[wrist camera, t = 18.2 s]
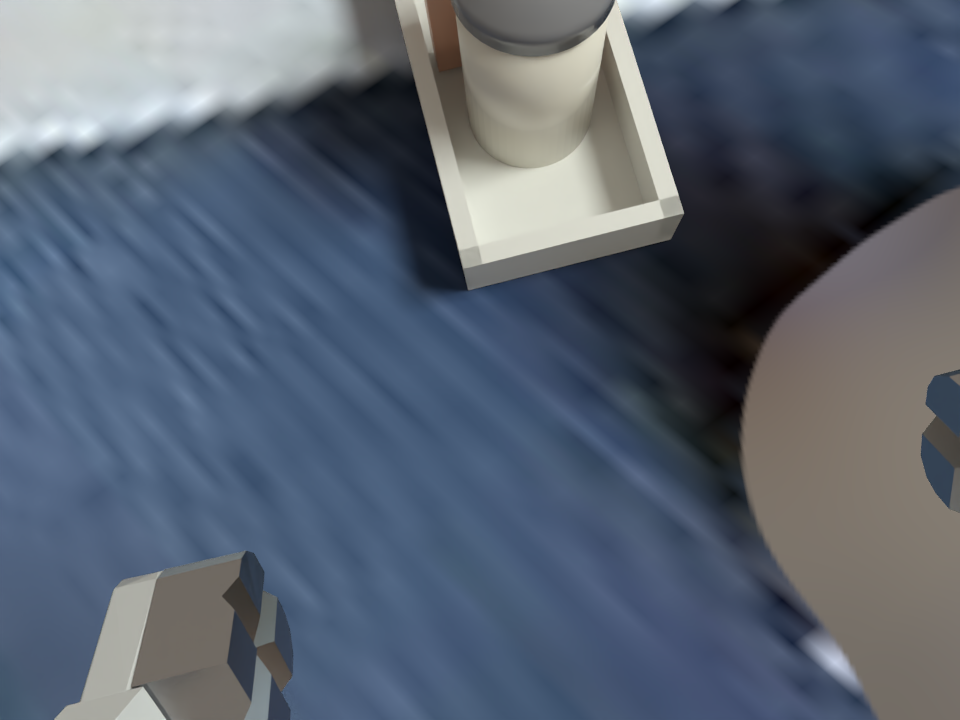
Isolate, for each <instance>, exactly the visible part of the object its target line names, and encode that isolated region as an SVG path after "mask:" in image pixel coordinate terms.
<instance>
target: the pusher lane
mask: <svg viewBox="0 0 960 720" xmlns="http://www.w3.org/2000/svg"><path fill="white" fill-rule="evenodd" d="M394 2H395V6H396V10H397V14H398V17H399V21H400V25H401V29H402V33H403V37H404V41H405V45H406V49H407V53H408V57H409V61H410V64H411V68H412V72H413V76H414V80H415V84H416V88H417V92H418V96H419V100H420V104H421V108H422V111H423V115H424V119H425V123H426V127H427V131H428V135H429V139H430V143H431V147H432V151H433V155H434V158H435V162H436V166H437V170H438V174H439V178H440V182H441V186H442V190H443V194H444V198H445V202H446V205H447V209H448V213H449V217H450V221H451V225H452V229H453V233H454V237H455V241H456V245H457V249H458V252H459V256H460V260H461V264H462V268H463V272H464V276H465V280H466V284H467V288H468V290H472V289H476V288H480V287H484V286H488V285H492V284H496V283H500V282H504V281H508V280H512V279H516V278H520V277H524V276H528V275H532V274H535V273H539V272H543V271H547V270H551V269H555V268H559V267H563V266H567V265H571V264H575V263H579V262H583V261H587V260H591V259H595V258H599V257H603V256H607V255H611V254H615V253H619V252H623V251H627V250H630V249H634V248H638V247H642V246H646V245H650V244H654V243H658V242H662V241H666V240H670V239H671V237H672V236H673V234H674V232H675V230H676V228H677V226H678V224H679V222H680V220H681V218H682V216H683V214H684V211H683V208H682V205H681V202H680V199H679V196H678V193H677V189H676V186H675V183H674V180H673V177H672V174H671V170H670V167H669V164H668V161H667V158H666V155H665V152H664V148H663V145H662V142H661V139H660V136H659V133H658V129H657V126H656V123H655V120H654V117H653V114H652V111H651V107H650V104H649V101H648V98H647V95H646V92H645V88H644V85H643V82H642V79H641V76H640V73H639V70H638V66H637V63H636V60H635V57H634V54H633V51H632V47H631V44H630V41H629V38H628V35H627V32H626V29H625V25H624V22H623V19H622V16H621V13H620V10H619V6H618V3H617V0H615V3H614V6H613V8H612V10H611V12H610V14H609V18H608V23H607V29H606V35H605V41H604V46H603V52H602V58H601V64H600V69H599V75H598V81H597V87H596V92H595V98H594V104H593V110H592V116H591V121H590V125H589V128H588V131H587V133H586V135H585V137H584V139H583V140H582V142H581V144H580V145H579V146H578V147H577V148H576V149H575V150H574V151H573V152H572V153H571V154H570V155H568V156H567V157H565V158H564V159H562V160H560V161H558V162H556V163H554V164H551V165H549V166H545V167H540V168H519V167H514V166H510V165H507V164H504V163H502V162H500V161H498V160H496V159H495V158H493V157H492V156H490V155H489V154H488V153H487V152H486V151H485V150H484V149H483V148H482V147H481V146H480V145H479V143H478V142H477V141H476V139H475V137H474V135H473V133H472V130H471V128H470V123H469V118H468V110H467V102H466V94H465V86H464V78H463V70H462V66H461V67H457V68H453V69H449V70H445V71H441V72H439V70H438V66H437V62H436V58H435V55H434V51H433V46H432V41H431V35H430V30H429V24H428V18H427V13H426V7H425V2H424V0H394Z"/></svg>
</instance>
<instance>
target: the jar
mask: <svg viewBox="0 0 960 720" xmlns="http://www.w3.org/2000/svg"><path fill="white" fill-rule="evenodd" d="M450 1H451V4H452V7H453V9H454V12H455V13H456V21H457V29H458V37H459V45H460V53H461V62H462V70H463V78H464V86H465V94H466V102H467V110H468V118H469V123H470V128H471V130H472V133H473V135H474V137H475V139H476V141H477V142H478V143H479V145H480V146H481V147H482V148H483V149H484V150H485V151H486V152H487V153H488V154H489V155H490V156H492V157H493V158H495V159H496V160H498V161H500V162H502V163H504V164H507V165H510V166H514V167H519V168H540V167H545V166H549V165H551V164H554V163H556V162H558V161H560V160H562V159H564V158H565V157H567V156H568V155H570V154H571V153H572V152H573V151H574V150H575V149H576V148H577V147H578V146H579V145H580V144H581V142H582V140H583V139H584V137H585V135H586V133H587V131H588V128H589V125H590V121H591V116H592V110H593V104H594V98H595V92H596V87H597V81H598V75H599V69H600V64H601V58H602V52H603V46H604V41H605V35H606V29H607V23H608V18H609V14H610V12H611V10H612V8H613V6H614V3H615V0H450Z"/></svg>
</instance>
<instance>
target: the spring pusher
mask: <svg viewBox="0 0 960 720" xmlns="http://www.w3.org/2000/svg"><path fill="white" fill-rule="evenodd" d="M424 2H425V7H426V13H427V18H428V24H429V30H430V35H431V41H432V46H433V51H434V55H435V58H436V62H437V66H438V70H439V72H441V71H445V70H449V69H453V68H457V67H461V66H462V62H461V53H460V45H459V37H458V29H457V21H456V13H455V12H454V9H453V7H452V4H451V1H450V0H424Z"/></svg>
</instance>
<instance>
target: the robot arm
mask: <svg viewBox="0 0 960 720" xmlns="http://www.w3.org/2000/svg"><path fill="white" fill-rule="evenodd" d="M926 405H927V406H928V407H929V408H930V409H931V410H932V411H933V412H934V413H935V414H936V417H935V418H934V420H933V421H932V422H931V423H930V425H929V426H928V427H927V428H926V430H925V431H924V432H923V434H922V446H921V458H922V461H923V465H924V469H925V472H926V476H927V478H928V480H929V482H930V483H931V486H932V487H933V489H934V491H935V493H936V494H937V495H938V496H939V498H940V499H941V500H942V501H943V502H944V503H945V504H946V506H947V507H948V508H949V509H951V510H953V511H956V512H958V513H960V370H956V371H952V372H948V373H944V374H941V375H937V376H934V378H933V380H932V381H931V383H930V384H929V386H928V390H927V398H926ZM263 582H264V570H263V569H262V567H261V565H260V563H259V562H258V560H257V558H256V556H255V554H254V553H252V552H249V551H243V552H239V553H234V554H230V555H226V556H221V557H217V558H213V559H208V560H204V561H200V562H195V563H191V564H186V565H182V566H178V567H173V568H169V569H165V570H164V571H161V572H156V573H151V574H147V575H142V576H138V577H133V578H129V579H125V580H122V581H121V582H120V583H119V584H118V585H117V586H116V588H115V589H114V590H113V593H112V596H111V599H110V603H109V606H108V609H107V613H106V616H105V619H104V623H103V626H102V629H101V633H100V636H99V639H98V643H97V646H96V649H95V653H94V656H93V659H92V663H91V666H90V669H89V673H88V676H87V679H86V683H85V686H84V690H83V693H82V696H81V700H80V702H79V703H76V704H72V705H68V706H66V707H65V708H64V709H63V710H62V711H61V713H60V714H59V715H58V716H57V717H56V718H55V719H54V720H290V708H289V706H288V704H287V702H286V701H285V699H284V697H283V695H282V693H281V692H282V690H283V689H284V687H285V686H286V684H287V683H288V681H289V680H290V679H291V677H292V673H293V649H292V642H291V634H290V628H289V625H288V622H287V619H286V615H285V612H284V610H283V608H282V606H281V604H280V602H279V600H278V598H277V597H275V596H273V595H271V594H269V593H267V592H265V591H263Z"/></svg>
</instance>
